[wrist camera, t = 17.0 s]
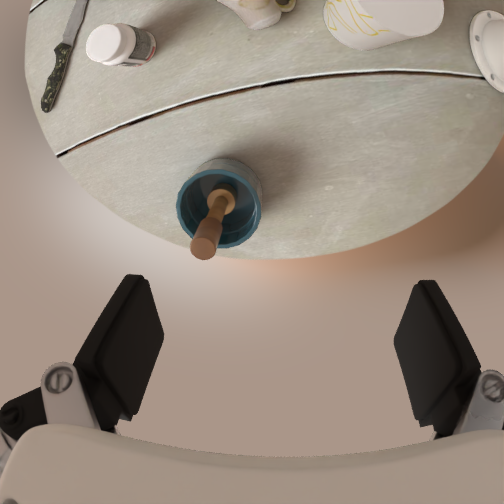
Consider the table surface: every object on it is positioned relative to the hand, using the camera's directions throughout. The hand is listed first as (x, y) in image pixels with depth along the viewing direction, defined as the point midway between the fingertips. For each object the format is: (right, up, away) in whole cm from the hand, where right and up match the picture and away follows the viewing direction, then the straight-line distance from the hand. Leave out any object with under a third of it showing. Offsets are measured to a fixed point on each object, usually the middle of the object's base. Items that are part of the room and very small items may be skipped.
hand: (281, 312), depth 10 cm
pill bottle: (-14, +26, +16) cm, 34 cm away
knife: (-26, +29, +14) cm, 42 cm away
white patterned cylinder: (+11, +28, +13) cm, 33 cm away
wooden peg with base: (-4, +9, +25) cm, 27 cm away
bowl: (-4, +9, +25) cm, 27 cm away
